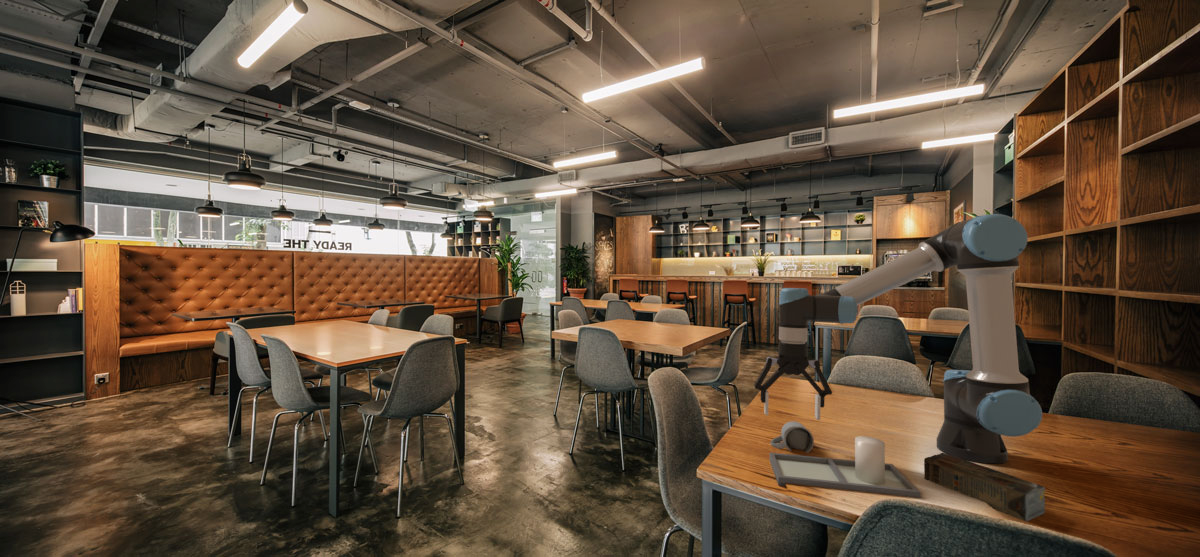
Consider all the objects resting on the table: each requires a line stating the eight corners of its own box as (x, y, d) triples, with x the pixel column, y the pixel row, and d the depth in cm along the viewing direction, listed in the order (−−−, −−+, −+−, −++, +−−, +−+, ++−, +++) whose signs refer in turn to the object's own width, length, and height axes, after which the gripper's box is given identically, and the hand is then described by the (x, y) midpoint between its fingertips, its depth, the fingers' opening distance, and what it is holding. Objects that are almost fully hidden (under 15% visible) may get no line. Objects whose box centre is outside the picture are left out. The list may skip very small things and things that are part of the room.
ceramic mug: (806, 445, 126) (805, 418, 126) (814, 456, 118) (814, 427, 118) (768, 443, 128) (767, 417, 128) (773, 453, 120) (773, 426, 120)
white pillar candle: (879, 474, 105) (878, 437, 105) (889, 485, 99) (888, 446, 99) (851, 471, 106) (851, 435, 106) (860, 482, 101) (859, 444, 101)
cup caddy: (892, 472, 108) (892, 464, 108) (920, 501, 94) (920, 492, 94) (769, 459, 115) (769, 452, 115) (778, 485, 101) (778, 477, 101)
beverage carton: (1026, 523, 85) (1026, 490, 86) (921, 482, 103) (921, 455, 103) (1046, 515, 89) (1046, 483, 89) (941, 476, 106) (941, 450, 106)
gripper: (837, 342, 123) (835, 416, 123) (745, 337, 130) (744, 408, 130) (845, 346, 116) (843, 424, 116) (748, 341, 122) (746, 415, 122)
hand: (791, 416), depth 123 cm, fingers open, 13 cm apart
